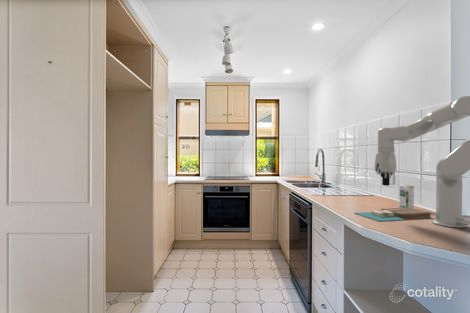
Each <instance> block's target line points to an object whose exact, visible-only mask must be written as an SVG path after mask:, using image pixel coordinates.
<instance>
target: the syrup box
mask: <svg viewBox="0 0 470 313" xmlns="http://www.w3.org/2000/svg"><path fill="white" fill-rule="evenodd" d="M398 195H399V196H398V199H399V200H398V208H411V209H415V208H414V207H415V204H414V203H415V186H414V185H409V184H408V185H407V184H399V193H398Z"/></svg>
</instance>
